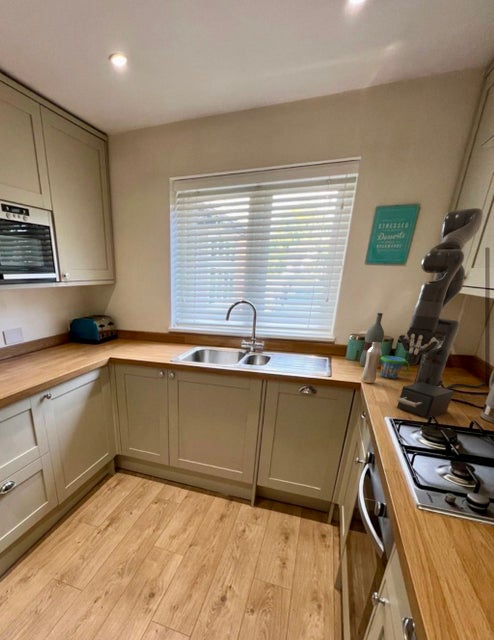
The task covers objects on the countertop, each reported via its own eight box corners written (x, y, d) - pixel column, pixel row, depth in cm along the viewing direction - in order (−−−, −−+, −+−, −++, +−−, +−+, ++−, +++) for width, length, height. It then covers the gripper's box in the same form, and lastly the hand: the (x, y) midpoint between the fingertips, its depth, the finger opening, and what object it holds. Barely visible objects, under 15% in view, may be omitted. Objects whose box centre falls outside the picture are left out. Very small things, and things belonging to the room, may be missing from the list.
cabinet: (427, 418, 125) (434, 396, 122) (396, 407, 135) (403, 386, 131) (446, 412, 131) (454, 390, 128) (416, 402, 140) (422, 382, 137)
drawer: (416, 418, 122) (422, 400, 120) (389, 408, 131) (393, 391, 128) (442, 410, 130) (448, 393, 127) (415, 401, 139) (420, 385, 136)
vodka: (371, 368, 187) (385, 314, 176) (355, 364, 194) (367, 312, 183) (379, 366, 192) (392, 313, 181) (363, 362, 199) (375, 311, 188)
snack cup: (404, 376, 175) (410, 358, 171) (407, 382, 166) (413, 362, 162) (371, 372, 181) (376, 354, 177) (372, 377, 172) (377, 358, 168)
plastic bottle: (367, 384, 160) (377, 344, 153) (356, 380, 166) (366, 341, 159) (377, 384, 162) (388, 343, 154) (367, 379, 168) (377, 340, 161)
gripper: (454, 316, 107) (437, 367, 114) (412, 311, 118) (399, 358, 124) (442, 317, 104) (425, 370, 110) (400, 312, 115) (387, 360, 121)
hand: (411, 364), depth 117 cm, fingers closed
